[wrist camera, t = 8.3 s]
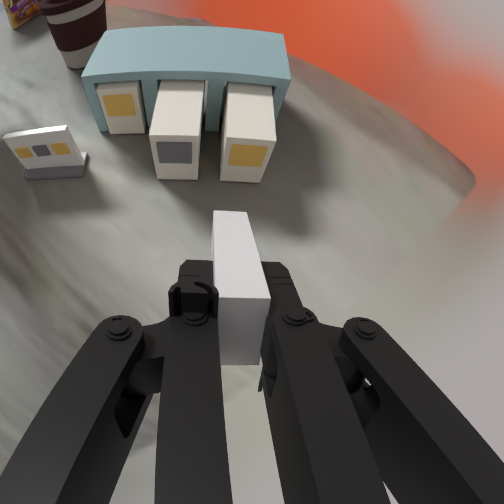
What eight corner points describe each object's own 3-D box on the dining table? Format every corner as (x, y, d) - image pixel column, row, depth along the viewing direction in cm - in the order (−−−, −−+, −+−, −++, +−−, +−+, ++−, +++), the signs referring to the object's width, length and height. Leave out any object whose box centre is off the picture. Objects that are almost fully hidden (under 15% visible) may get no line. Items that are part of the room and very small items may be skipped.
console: (99, 131, 33) (80, 76, 24) (116, 83, 35) (105, 30, 26) (270, 135, 36) (291, 79, 27) (267, 87, 39) (283, 34, 30)
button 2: (219, 182, 33) (226, 139, 25) (222, 112, 36) (229, 66, 28) (260, 184, 34) (276, 143, 26) (257, 115, 36) (270, 71, 29)
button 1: (109, 135, 32) (95, 91, 25) (127, 80, 35) (120, 37, 28) (144, 134, 33) (135, 88, 26) (157, 79, 36) (154, 35, 29)
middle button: (157, 180, 32) (148, 137, 24) (168, 111, 35) (165, 65, 27) (197, 181, 32) (198, 138, 25) (203, 112, 35) (206, 65, 28)
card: (25, 180, 29) (-1, 147, 22) (32, 159, 30) (8, 125, 23) (82, 176, 31) (61, 139, 24) (88, 155, 31) (70, 116, 25)
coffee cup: (119, 61, 37) (107, -20, 22) (59, 83, 34) (32, 7, 20) (111, 33, 39) (103, -37, 24) (58, 52, 36) (39, -15, 22)
